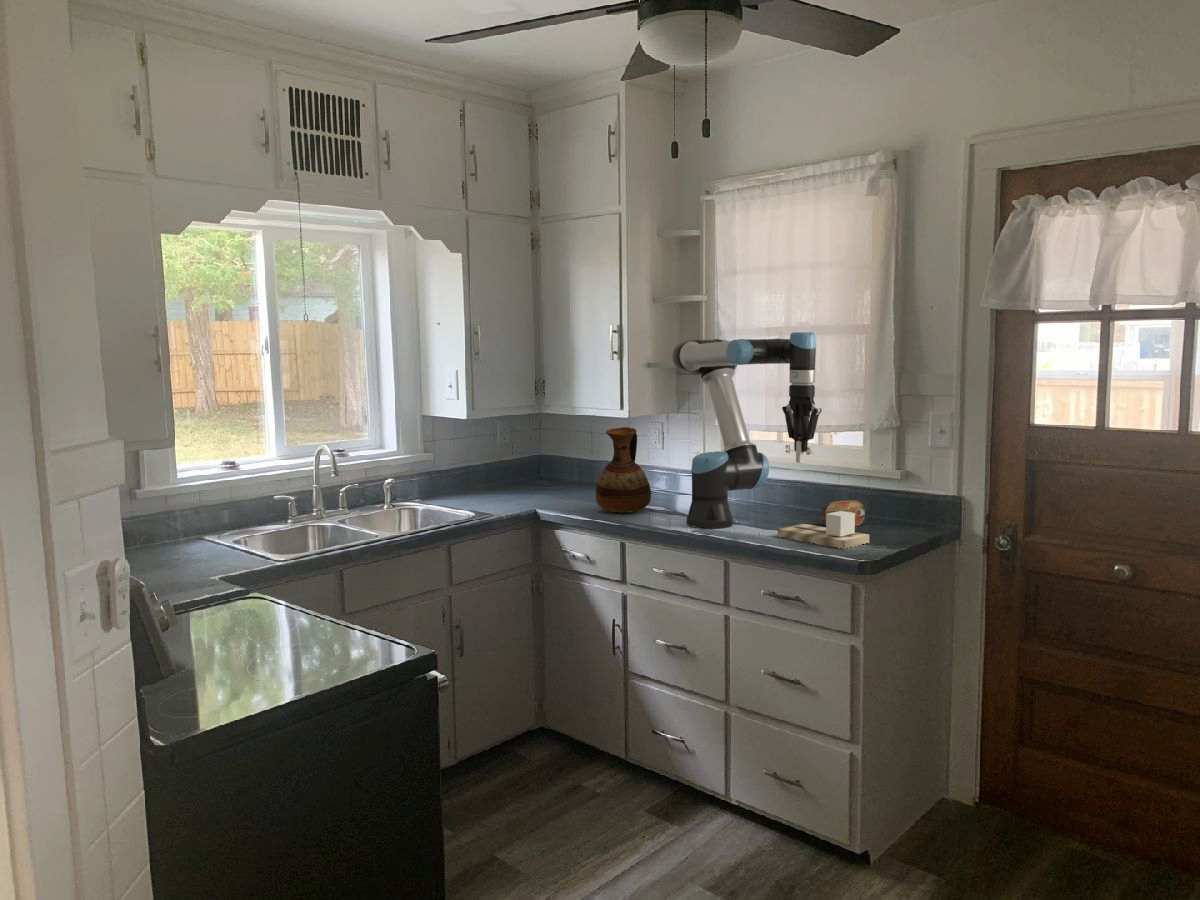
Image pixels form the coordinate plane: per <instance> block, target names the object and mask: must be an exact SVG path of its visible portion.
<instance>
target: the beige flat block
mask: <svg viewBox="0 0 1200 900" xmlns="http://www.w3.org/2000/svg"><path fill="white" fill-rule="evenodd" d="M778 536H780V537H779V538H781V537H785V538H784V539H786V538H790V539H789V540H792V539H795V540H794V541H797V540H799V541H798V542H802V541H805V542H804V543H808V542H810V543H809V544H813V543H815V544H814V545H820V546H823V547H824V546H826V547H829V548H830V547H831V548H835V547H837V549H840V548H843V549H842V550H847V549H846V548H848V549H851V548H850V547H852V548H856V547H859V546H858V545H860V546H863V545H862V544H864V545H866V543H868V544H869V543H870V534H867V533H862V532H855V533H853V534H849V535H845V536H841V537H839V536H834V535H828V534H826V526H825V527H824V526H821V525H819V526H818V525H814V524H808V523H800V524H794V525H790V526H785V527H781V528H778V529H777V537H778ZM855 546H856V547H855Z"/></svg>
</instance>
